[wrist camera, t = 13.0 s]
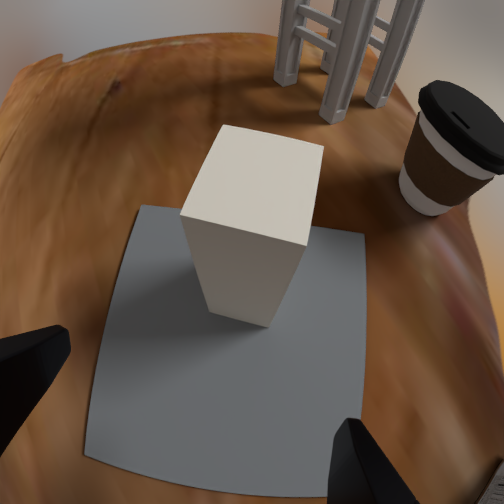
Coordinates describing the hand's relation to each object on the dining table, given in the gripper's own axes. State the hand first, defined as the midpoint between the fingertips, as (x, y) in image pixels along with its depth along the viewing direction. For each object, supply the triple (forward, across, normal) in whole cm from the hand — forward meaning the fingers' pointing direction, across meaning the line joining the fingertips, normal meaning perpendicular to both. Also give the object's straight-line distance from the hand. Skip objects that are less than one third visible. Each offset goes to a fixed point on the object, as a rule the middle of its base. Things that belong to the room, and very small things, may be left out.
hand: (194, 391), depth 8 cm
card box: (+15, 0, +4) cm, 15 cm away
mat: (+12, 0, +7) cm, 14 cm away
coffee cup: (+26, -15, -7) cm, 31 cm away
